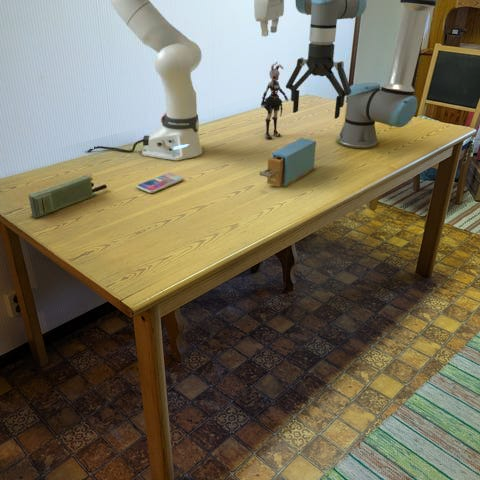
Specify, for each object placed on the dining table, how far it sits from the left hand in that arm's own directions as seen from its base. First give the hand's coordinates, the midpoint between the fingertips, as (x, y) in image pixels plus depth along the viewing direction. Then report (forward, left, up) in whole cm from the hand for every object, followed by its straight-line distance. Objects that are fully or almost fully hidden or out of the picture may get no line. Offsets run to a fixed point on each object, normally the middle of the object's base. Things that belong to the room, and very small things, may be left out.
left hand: (269, 34), depth 162 cm
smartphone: (-30, -27, -43) cm, 59 cm away
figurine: (-2, +30, -43) cm, 53 cm away
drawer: (+9, -16, -42) cm, 46 cm away
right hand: (+17, -12, -22) cm, 30 cm away
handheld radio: (-51, -47, -43) cm, 82 cm away
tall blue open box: (+11, -11, -43) cm, 46 cm away
